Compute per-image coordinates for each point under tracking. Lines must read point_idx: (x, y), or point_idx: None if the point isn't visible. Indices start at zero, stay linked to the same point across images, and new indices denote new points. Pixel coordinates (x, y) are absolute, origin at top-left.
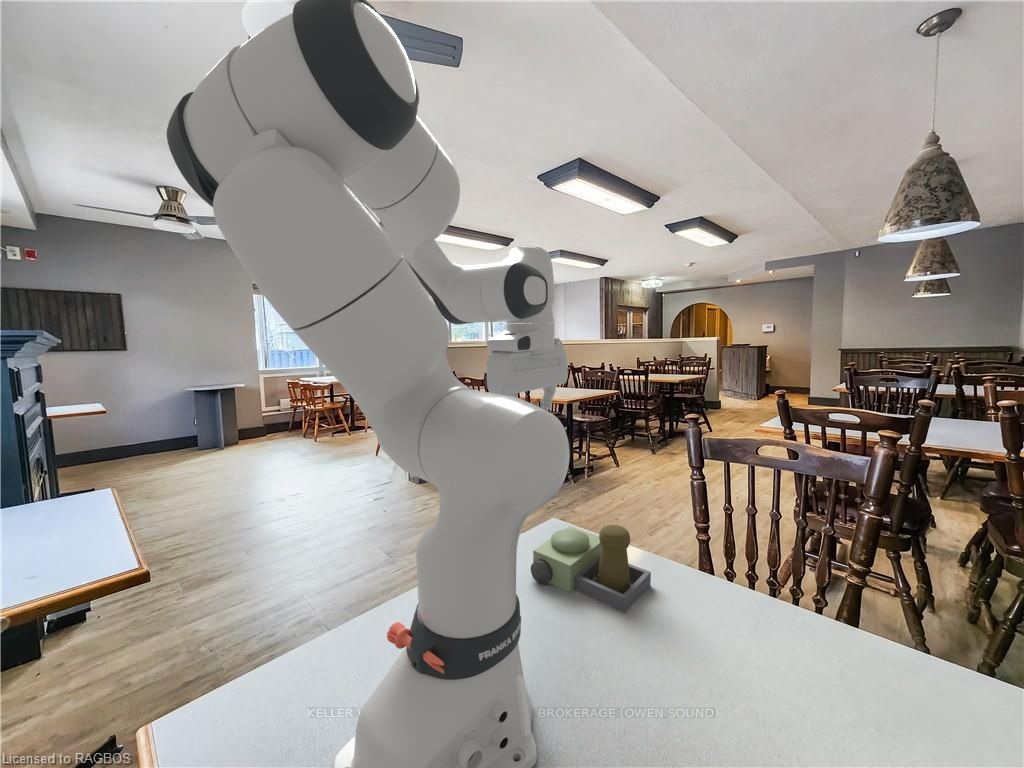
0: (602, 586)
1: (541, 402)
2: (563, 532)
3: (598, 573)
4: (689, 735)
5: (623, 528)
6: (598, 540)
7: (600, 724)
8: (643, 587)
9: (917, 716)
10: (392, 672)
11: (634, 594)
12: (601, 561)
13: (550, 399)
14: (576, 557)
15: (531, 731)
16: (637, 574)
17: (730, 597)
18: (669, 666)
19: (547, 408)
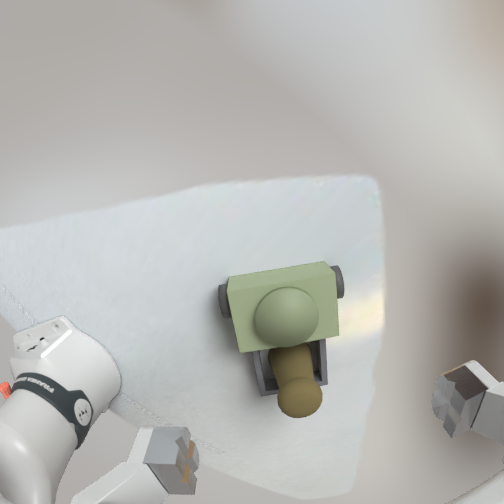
0: (259, 372)
1: (456, 398)
2: (295, 300)
3: (277, 356)
4: None
5: (312, 410)
6: (327, 333)
7: (152, 422)
8: None
9: (305, 487)
10: (14, 376)
11: None
12: (279, 371)
13: (474, 431)
14: (263, 345)
15: (107, 405)
16: (320, 371)
17: (354, 416)
18: (232, 429)
19: (434, 408)
